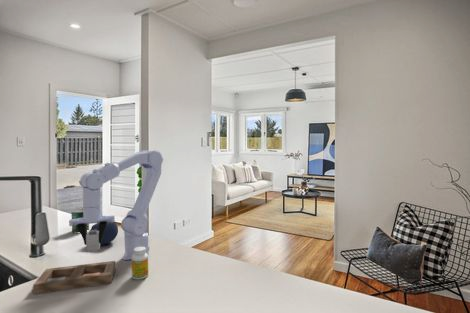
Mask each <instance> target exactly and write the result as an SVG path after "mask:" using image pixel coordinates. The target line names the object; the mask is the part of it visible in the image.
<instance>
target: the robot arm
mask: <svg viewBox="0 0 470 313" xmlns="http://www.w3.org/2000/svg"><path fill="white" fill-rule="evenodd" d="M163 162H164V158H163V155H162V152H160V151H159V150H146V149H143V150H140V151H137V152H135V153H133V154H131V155H130V156H128V157H126V158H124V159H122V160H120V161H118V162H117V163H113V162H106V163H104V165H103V166H101V167H99V168H94V169H92V172H86V173H84V174H83V175H81V177H80V180H79V181H78V183H79V186H81V188H82V208H83V216H84V217H83V218H77V219H72V218H71V219H69V220H68V225H69V227H72V226H73V225H78V227H77V229H78V230H79V232H80V233H79V234H80V235H81V238H82V239H83V240H82V241H83V243H84V245H85V246H86V234H87V232H88V231H87V224H89V225H90V224H96V223H99V243H101V242H102V235H103V232H104V229H105V227H106V224H107V222H115V219H116V218H115V215H102V201H101V200H102V199H101V197H102V196H101V195H102V194H101V188H102V187H103V185H104V184H106V183H107V182H110V181H111V180H113V179H115V178H118V177H119V176H120V172H123V171H124V170H126V169H128V168H131V167H133V166H135V165H139V164H140V166H142V168H143V169H144V170H145V172H146V176H145V178H144V181H143V183H142V186H141V187H140V190H139V193H138V195H137V198H136V200H135V202H134V205H133V207H132V209H131V210H129V211H128V212H127V214H126V216H124V218H123V219H122V220H121V223H120V228H121V229H122V231H123V232H124V233H123V234H124V254H123V259H122V260H123V261H128V260H132V256H133V255H134V248H136V247H145V248H146V252H145V253H147V254H148V255H149V252H150V245H149V232H145V231H146V230H147V222H148V220H149V219H148V216H147V210H148V207H149V205H150V203H151V200H152V198H153V196H154V193H155V190H156V188H157V185H158V183H159V179H160V178H161V175H162V165H163Z"/></svg>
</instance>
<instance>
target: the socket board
mask: <svg viewBox="0 0 470 313" xmlns="http://www.w3.org/2000/svg"><path fill="white" fill-rule="evenodd" d="M115 272H116V260H112V261H111V260H110V261H103V262H93V263H87V264H77V265H68V266H62V267H61V266H60V267H53V268H52V267H51V268H46V269H45V270H44V271H43V272H42V273H41V275H40V276H39V277H38V278H37V280H35V282H34V283H33V285H32V288H33V295H39V294H44V293H52V292H57V291H66V290H72V289H73V290H74V289H80V288H81V289H82V288H88V287H93V286H101V285H107V284H112V282H113V279H114V275H115Z"/></svg>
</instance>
